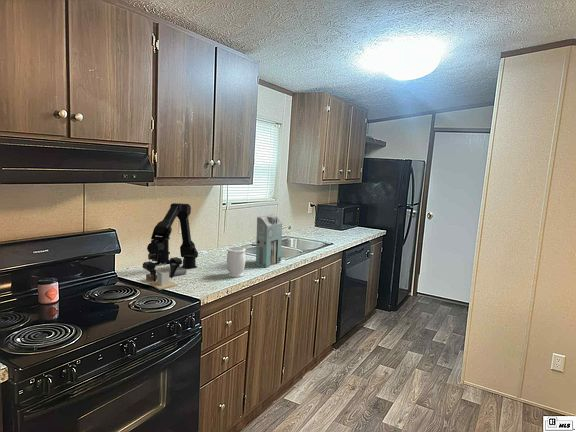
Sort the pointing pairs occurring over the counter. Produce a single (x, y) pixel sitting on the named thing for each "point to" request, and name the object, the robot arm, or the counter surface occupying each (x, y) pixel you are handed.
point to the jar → (236, 261)
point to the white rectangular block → (163, 277)
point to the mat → (158, 286)
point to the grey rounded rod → (177, 272)
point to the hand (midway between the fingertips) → (163, 279)
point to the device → (268, 240)
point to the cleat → (149, 278)
